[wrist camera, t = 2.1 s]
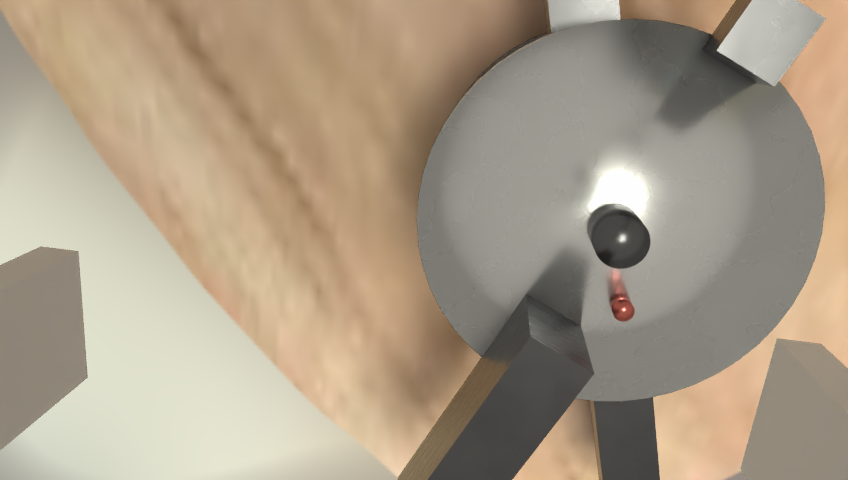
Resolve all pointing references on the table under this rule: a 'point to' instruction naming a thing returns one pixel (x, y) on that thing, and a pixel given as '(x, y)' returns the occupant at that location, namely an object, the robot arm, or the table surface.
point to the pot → (612, 420)
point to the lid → (615, 221)
